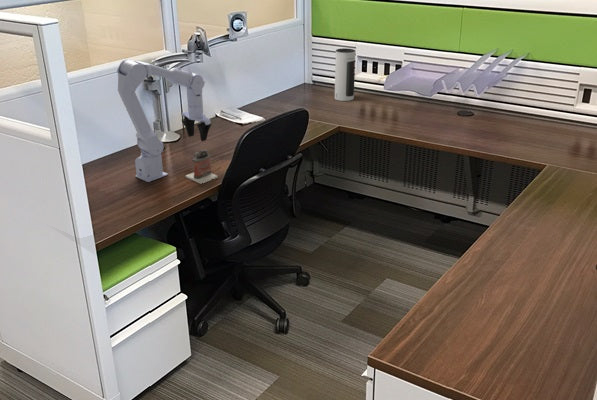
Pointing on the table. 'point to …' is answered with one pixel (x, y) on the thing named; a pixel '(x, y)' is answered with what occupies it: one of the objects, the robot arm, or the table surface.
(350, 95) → the speaker
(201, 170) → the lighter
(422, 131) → the table surface
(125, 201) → the table surface
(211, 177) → the tile
